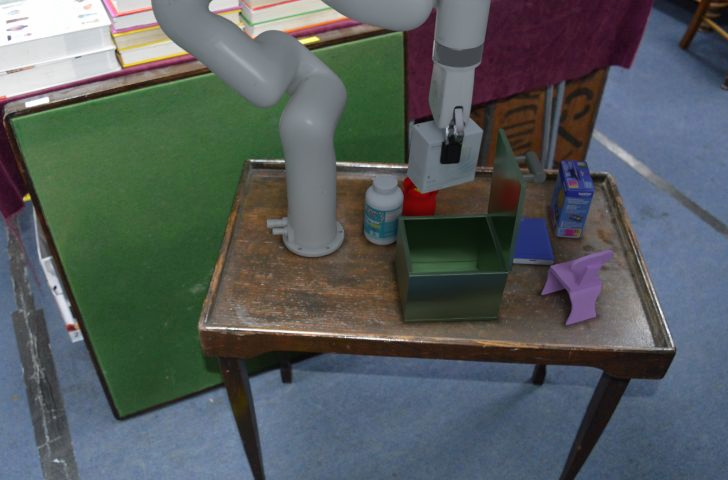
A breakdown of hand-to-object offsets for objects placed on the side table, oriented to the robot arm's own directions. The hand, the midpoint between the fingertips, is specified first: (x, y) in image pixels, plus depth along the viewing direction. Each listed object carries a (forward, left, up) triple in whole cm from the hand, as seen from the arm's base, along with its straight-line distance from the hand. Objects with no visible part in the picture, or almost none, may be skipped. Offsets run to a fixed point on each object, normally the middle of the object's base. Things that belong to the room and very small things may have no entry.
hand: (444, 148), depth 113 cm
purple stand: (+23, -14, -25) cm, 37 cm away
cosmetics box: (0, 0, -7) cm, 7 cm away
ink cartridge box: (+29, +9, -25) cm, 39 cm away
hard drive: (+20, +3, -25) cm, 32 cm away
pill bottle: (-9, +7, -25) cm, 27 cm away
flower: (-1, +13, -25) cm, 28 cm away
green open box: (+1, -10, -25) cm, 27 cm away
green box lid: (+8, -10, -4) cm, 13 cm away
